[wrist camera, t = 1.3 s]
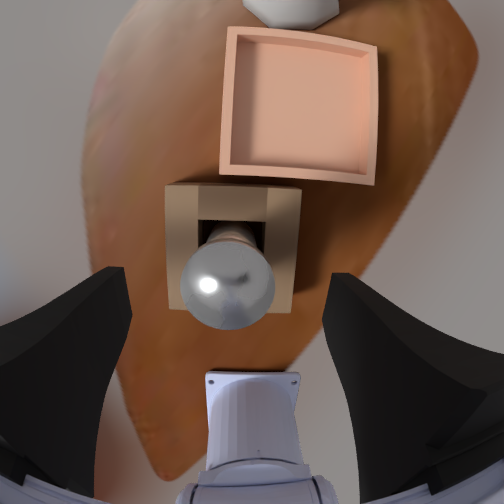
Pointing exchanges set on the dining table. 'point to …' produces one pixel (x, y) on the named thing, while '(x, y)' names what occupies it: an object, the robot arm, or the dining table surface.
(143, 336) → the dining table surface
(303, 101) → the tray
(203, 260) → the pin
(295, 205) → the brown square frame
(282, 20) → the flask
